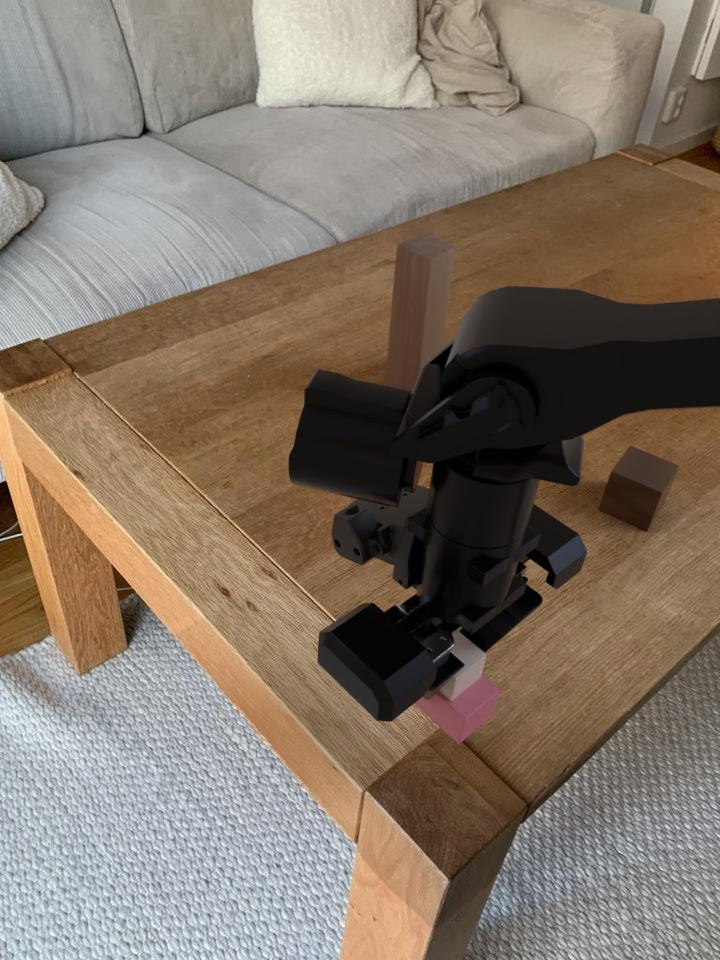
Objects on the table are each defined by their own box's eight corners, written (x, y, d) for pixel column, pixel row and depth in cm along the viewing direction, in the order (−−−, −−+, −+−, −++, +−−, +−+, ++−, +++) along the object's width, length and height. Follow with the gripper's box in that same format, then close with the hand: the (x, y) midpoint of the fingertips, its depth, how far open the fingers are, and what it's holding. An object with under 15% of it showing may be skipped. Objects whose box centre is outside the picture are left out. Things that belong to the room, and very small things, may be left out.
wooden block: (428, 362, 99) (446, 218, 87) (459, 376, 97) (482, 231, 85) (382, 393, 93) (395, 244, 82) (414, 409, 91) (431, 259, 80)
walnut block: (664, 503, 81) (679, 465, 78) (647, 531, 78) (662, 492, 75) (616, 483, 83) (629, 445, 80) (598, 509, 80) (611, 471, 77)
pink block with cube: (493, 714, 56) (507, 666, 53) (458, 745, 54) (470, 697, 51) (421, 651, 60) (429, 602, 57) (386, 677, 58) (392, 628, 55)
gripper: (478, 389, 55) (449, 550, 65) (255, 508, 45) (262, 677, 55) (618, 473, 49) (561, 636, 59) (396, 631, 39) (374, 795, 49)
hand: (443, 678), depth 56 cm, fingers closed on pink block with cube, 3 cm apart
